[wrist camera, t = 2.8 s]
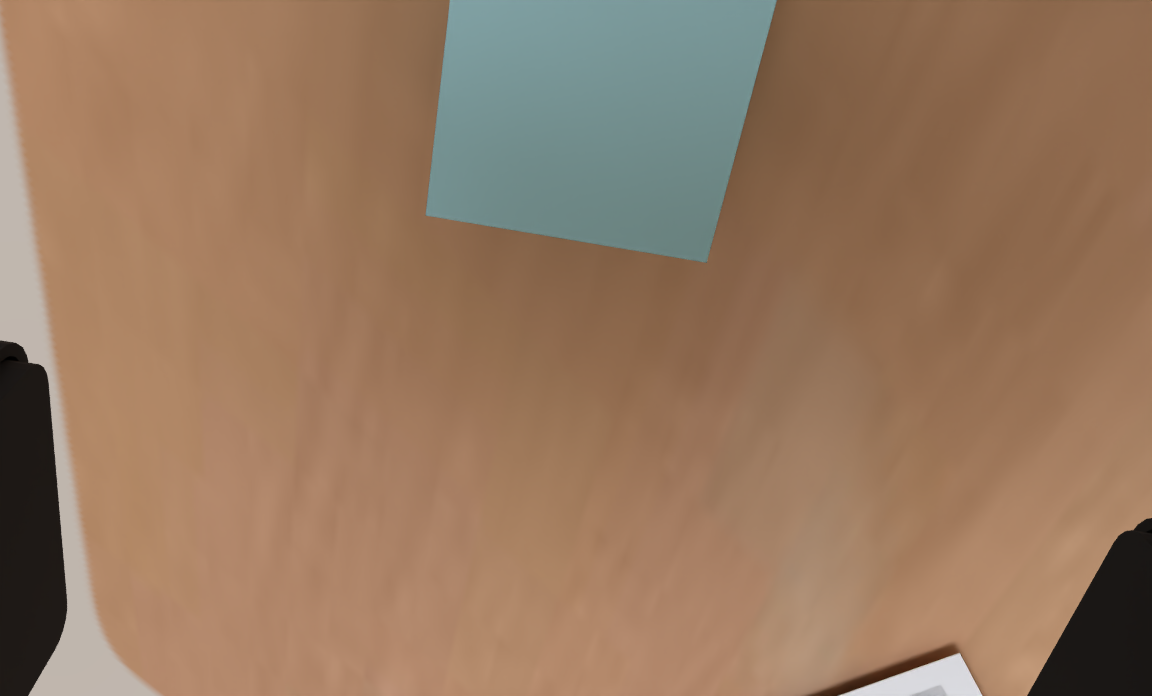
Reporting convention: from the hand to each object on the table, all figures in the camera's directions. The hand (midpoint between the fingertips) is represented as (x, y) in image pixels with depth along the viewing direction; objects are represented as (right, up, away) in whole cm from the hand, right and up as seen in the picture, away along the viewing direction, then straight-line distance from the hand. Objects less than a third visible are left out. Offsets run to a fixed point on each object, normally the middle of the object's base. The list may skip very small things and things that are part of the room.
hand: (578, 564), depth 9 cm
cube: (0, +10, +16) cm, 19 cm away
